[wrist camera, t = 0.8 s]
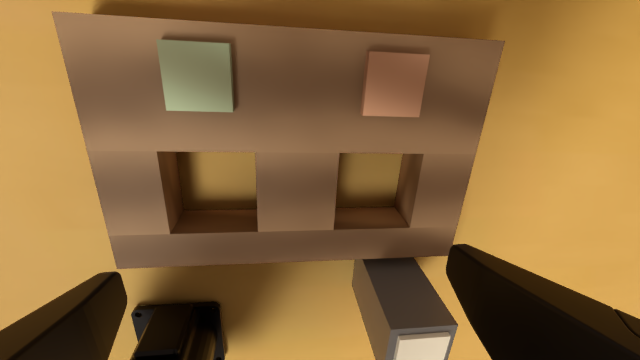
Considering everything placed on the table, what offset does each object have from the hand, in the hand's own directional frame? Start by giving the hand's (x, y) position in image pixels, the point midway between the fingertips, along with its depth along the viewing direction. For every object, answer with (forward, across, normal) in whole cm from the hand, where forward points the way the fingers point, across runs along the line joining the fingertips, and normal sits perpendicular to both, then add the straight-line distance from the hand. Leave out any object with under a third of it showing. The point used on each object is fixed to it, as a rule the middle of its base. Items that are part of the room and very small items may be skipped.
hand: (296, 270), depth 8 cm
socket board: (+13, -1, 0) cm, 13 cm away
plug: (+13, -7, +10) cm, 18 cm away
